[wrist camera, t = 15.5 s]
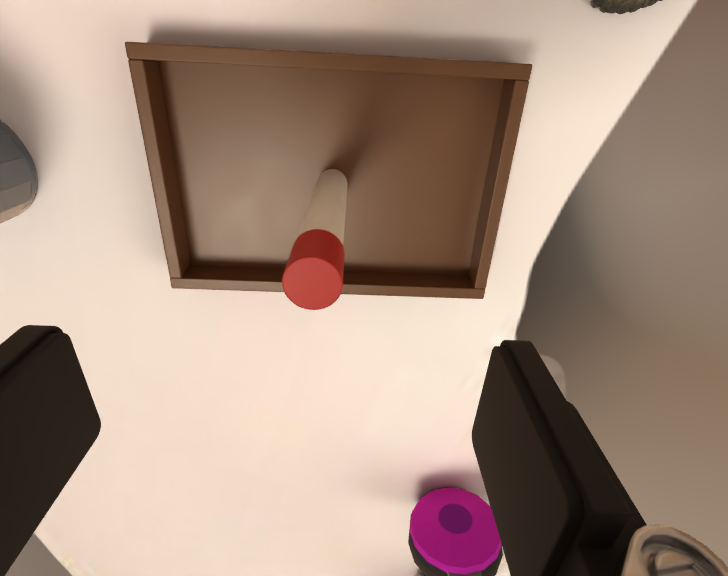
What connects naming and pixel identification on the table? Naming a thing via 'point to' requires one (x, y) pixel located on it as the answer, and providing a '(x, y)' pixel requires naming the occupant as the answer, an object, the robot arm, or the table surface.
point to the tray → (327, 162)
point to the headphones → (454, 535)
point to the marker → (319, 247)
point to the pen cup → (15, 175)
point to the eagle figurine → (621, 5)
